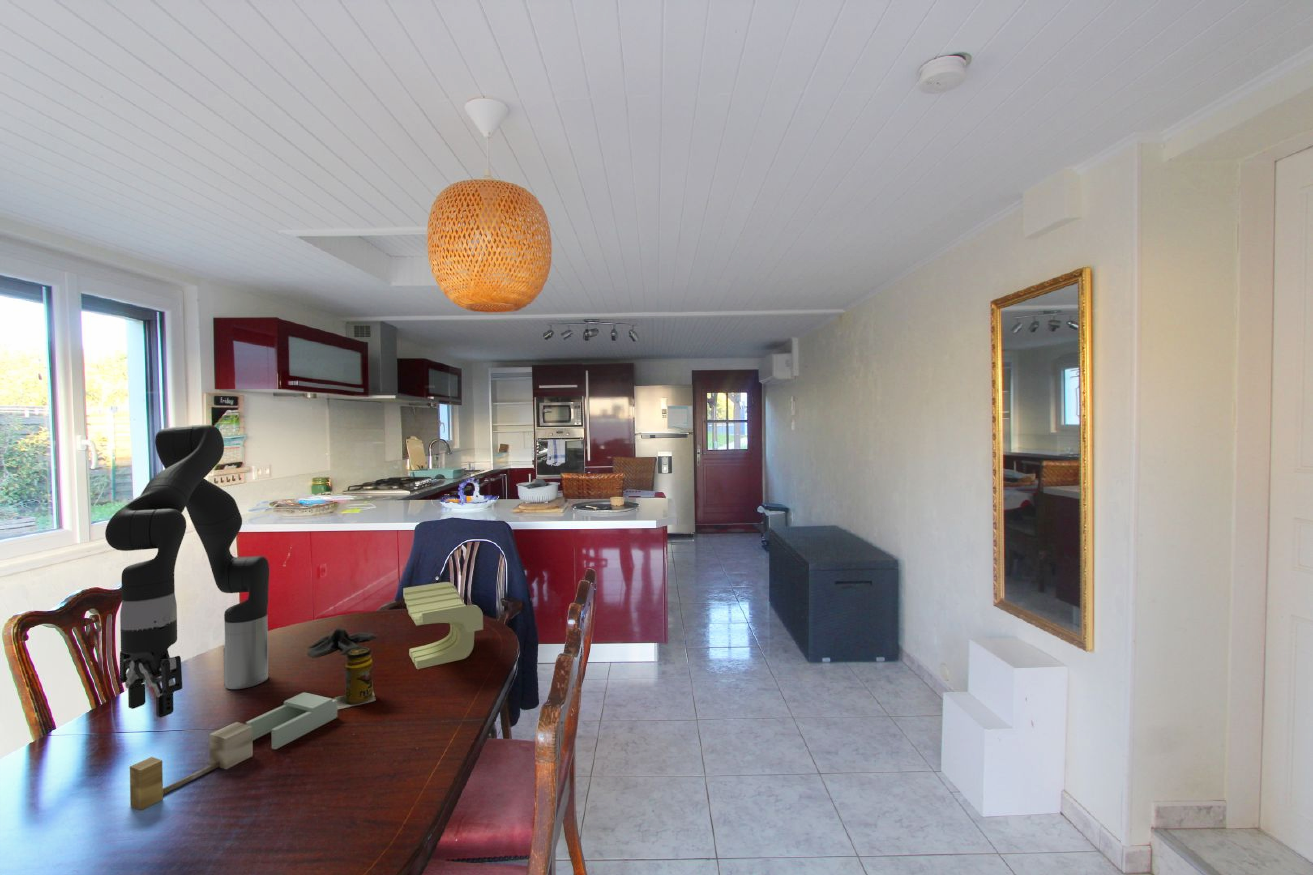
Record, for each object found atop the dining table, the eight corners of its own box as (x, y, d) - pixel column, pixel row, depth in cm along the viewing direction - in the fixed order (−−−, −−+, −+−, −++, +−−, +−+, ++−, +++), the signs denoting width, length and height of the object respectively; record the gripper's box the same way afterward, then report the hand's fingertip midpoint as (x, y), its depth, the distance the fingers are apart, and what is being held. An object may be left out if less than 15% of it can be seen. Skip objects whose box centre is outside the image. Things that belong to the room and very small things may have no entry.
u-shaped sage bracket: (246, 740, 120) (245, 718, 119) (309, 710, 133) (308, 689, 133) (275, 749, 116) (275, 726, 116) (337, 717, 129) (337, 696, 129)
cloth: (380, 633, 186) (380, 614, 186) (370, 653, 169) (370, 633, 169) (303, 641, 179) (303, 622, 179) (285, 663, 162) (285, 642, 162)
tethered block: (127, 804, 99) (126, 765, 99) (236, 750, 116) (236, 717, 116) (144, 811, 97) (143, 771, 97) (252, 755, 114) (252, 721, 114)
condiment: (376, 700, 137) (375, 652, 137) (336, 710, 132) (335, 660, 132) (372, 689, 143) (371, 643, 143) (334, 698, 138) (333, 650, 138)
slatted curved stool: (483, 665, 157) (482, 602, 157) (423, 680, 148) (422, 613, 148) (456, 634, 182) (456, 580, 182) (404, 645, 174) (403, 588, 173)
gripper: (100, 622, 99) (101, 713, 99) (147, 632, 94) (148, 728, 94) (151, 610, 106) (152, 695, 106) (197, 618, 101) (199, 708, 101)
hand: (150, 710), depth 100 cm, fingers open, 8 cm apart
